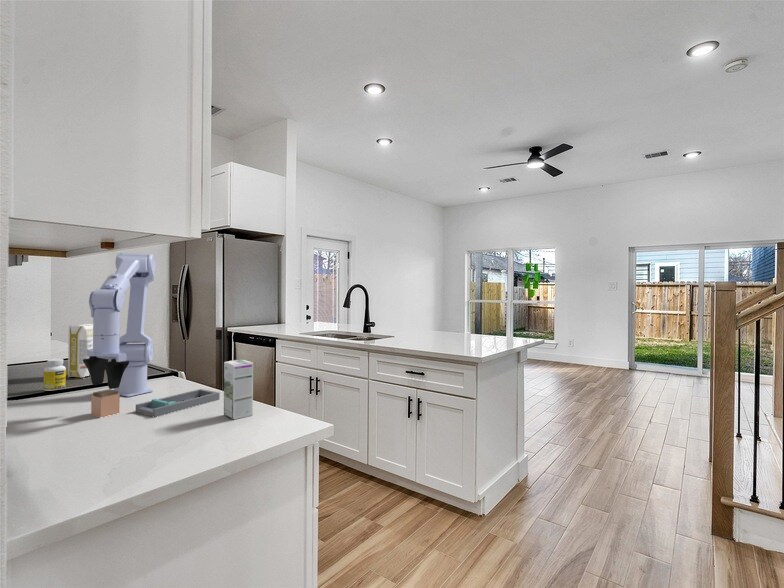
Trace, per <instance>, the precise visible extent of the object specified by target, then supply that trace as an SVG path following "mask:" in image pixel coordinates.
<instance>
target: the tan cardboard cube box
mask: <svg viewBox="0 0 784 588" xmlns="http://www.w3.org/2000/svg"><path fill="white" fill-rule="evenodd" d="M120 396H121V395H120V394H118V391H115V390H114V389H109V388H108V389H103V390H99V391H93V392H92V395H91V398H90V399H91V404H90V407H91V410H90V411H91V412H90V415H91V416H92V415H94V416H93V417H96V416H97V417H96V418H99V417H103V418H106V417H105V416H107V417H109V416H108V415H111V416H114V415H113V414H115V415H118V414H117V413H119V414H120V406H121V405H120Z"/></svg>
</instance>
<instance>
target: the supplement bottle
mask: <svg viewBox="0 0 784 588" xmlns="http://www.w3.org/2000/svg"><path fill="white" fill-rule="evenodd" d="M63 364H64V359H63V358H53V359H51V358H50V359H47V361H46V365H47V366H46V367H44V368H43V388H44V389H56V388H62V387H65V388H66V386H67V385H66V380H67V379H66V377H67V368H66V366H65V365H63Z"/></svg>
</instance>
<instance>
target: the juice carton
mask: <svg viewBox="0 0 784 588" xmlns="http://www.w3.org/2000/svg"><path fill="white" fill-rule="evenodd" d="M67 349H68V354H67V357H68V359H67V361H68V362H67V364H68V365H67V366H68V367H67V371H68V372H67V373H68V376H67V377H69V376H75V377H85V376H89V375H90V374H89V371H88V369H87V367H86V365H85V364H84V362H83V359H89V358H90V357H87V349H93V323H83V324H78V325H77V324H73V325H72V324H71V325H68V347H67Z"/></svg>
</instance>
